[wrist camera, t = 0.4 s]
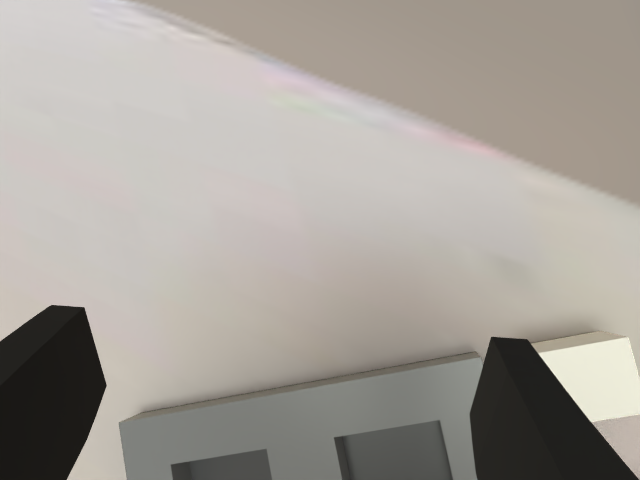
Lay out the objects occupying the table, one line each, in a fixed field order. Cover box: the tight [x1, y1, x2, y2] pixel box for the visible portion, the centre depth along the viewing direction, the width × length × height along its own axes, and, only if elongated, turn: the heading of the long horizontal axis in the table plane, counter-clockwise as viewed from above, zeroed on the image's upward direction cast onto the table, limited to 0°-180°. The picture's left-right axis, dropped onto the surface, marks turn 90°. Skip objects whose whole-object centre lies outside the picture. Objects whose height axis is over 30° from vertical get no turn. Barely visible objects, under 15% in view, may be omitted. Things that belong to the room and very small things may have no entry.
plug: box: [531, 331, 640, 422], centre depth 32 cm, size 4×5×6 cm
